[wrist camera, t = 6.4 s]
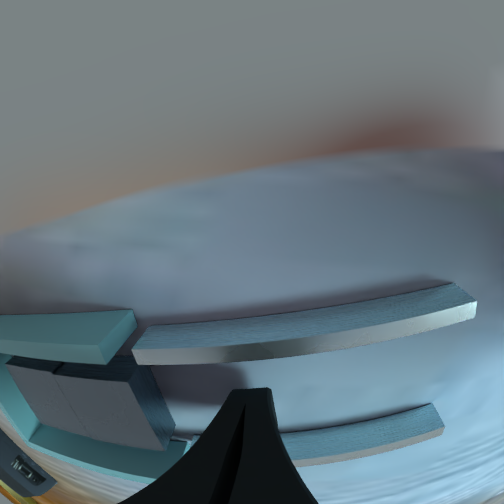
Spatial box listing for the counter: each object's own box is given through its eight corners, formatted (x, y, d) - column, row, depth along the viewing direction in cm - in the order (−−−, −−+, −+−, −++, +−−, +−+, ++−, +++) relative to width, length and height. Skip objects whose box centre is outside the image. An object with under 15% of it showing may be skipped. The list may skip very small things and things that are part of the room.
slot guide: (454, 282, 9) (477, 300, 7) (430, 411, 10) (441, 434, 9) (149, 325, 10) (131, 349, 8) (197, 442, 12) (190, 467, 10)
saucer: (-5, 469, 24) (-10, 476, 22) (4, 470, 22) (-1, 478, 20) (30, 500, 25) (26, 507, 23) (45, 505, 23) (40, 513, 21)
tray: (132, 309, 10) (97, 345, 7) (191, 450, 12) (180, 488, 9) (-12, 315, 11) (-40, 333, 9) (46, 423, 13) (28, 446, 11)
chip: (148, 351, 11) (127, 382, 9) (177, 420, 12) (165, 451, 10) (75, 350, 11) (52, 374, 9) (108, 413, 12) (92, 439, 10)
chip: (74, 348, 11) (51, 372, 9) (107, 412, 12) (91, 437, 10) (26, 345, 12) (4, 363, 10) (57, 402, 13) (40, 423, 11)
